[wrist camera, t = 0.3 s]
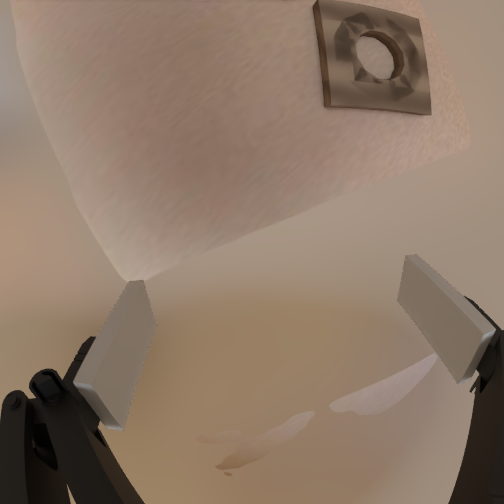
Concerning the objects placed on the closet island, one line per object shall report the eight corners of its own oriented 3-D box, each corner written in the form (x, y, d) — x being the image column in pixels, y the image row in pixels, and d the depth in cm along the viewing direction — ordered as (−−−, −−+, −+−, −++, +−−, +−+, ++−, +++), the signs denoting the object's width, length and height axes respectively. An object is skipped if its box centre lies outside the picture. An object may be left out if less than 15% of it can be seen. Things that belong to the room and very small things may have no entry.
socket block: (312, 6, 27) (318, -2, 25) (408, 23, 27) (418, 19, 25) (324, 107, 34) (331, 105, 31) (420, 115, 34) (431, 115, 31)
